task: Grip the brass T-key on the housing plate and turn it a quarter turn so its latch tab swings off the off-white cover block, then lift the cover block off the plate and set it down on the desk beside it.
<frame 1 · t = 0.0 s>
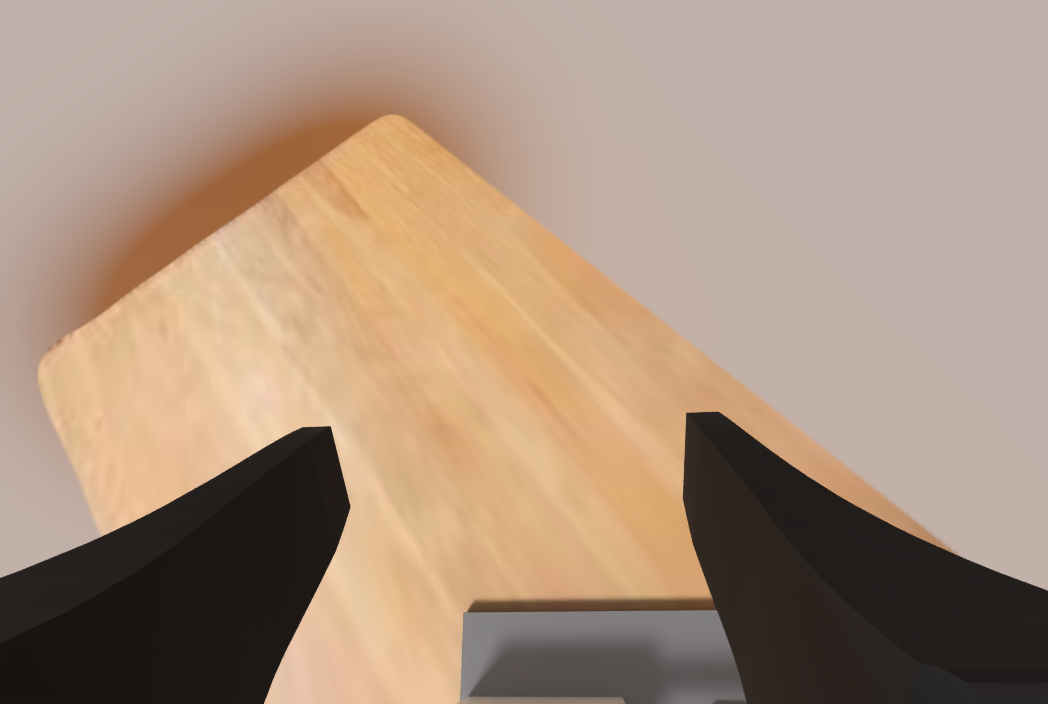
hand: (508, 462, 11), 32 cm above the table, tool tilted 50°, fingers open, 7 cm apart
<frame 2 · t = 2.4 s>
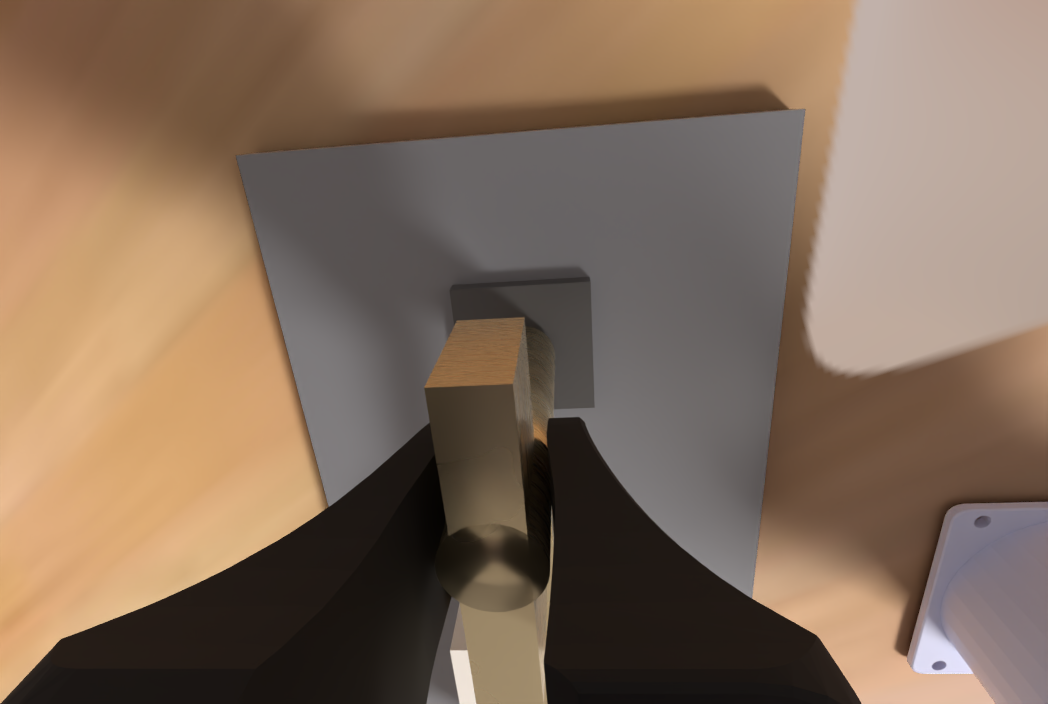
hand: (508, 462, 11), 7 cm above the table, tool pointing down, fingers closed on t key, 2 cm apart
housing plate: (539, 486, 20), on the table
cover: (550, 639, 22), point 1 cm above the table, touching housing plate
t key: (523, 532, 14), point 6 cm above the table, hinge at 0.0°, touching gripper
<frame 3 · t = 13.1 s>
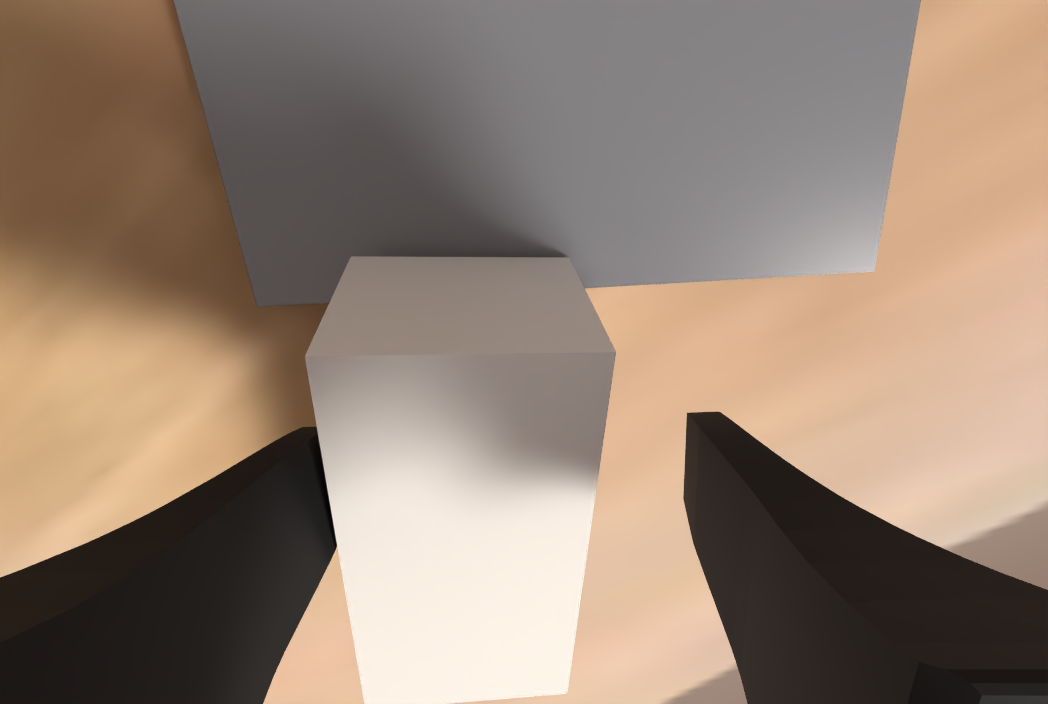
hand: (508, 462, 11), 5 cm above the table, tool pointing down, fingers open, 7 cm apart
cover: (464, 430, 15), point 1 cm above the table, tilted 11°, touching gripper
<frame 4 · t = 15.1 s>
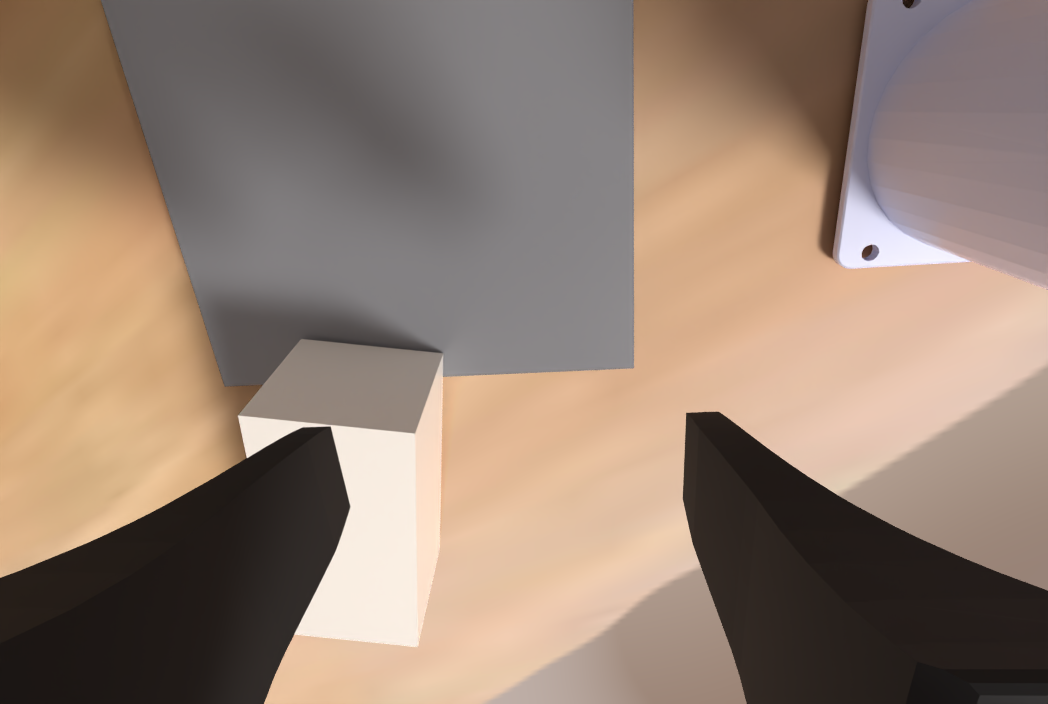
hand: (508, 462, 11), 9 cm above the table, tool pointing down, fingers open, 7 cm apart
cover: (378, 456, 22), point 1 cm above the table, tilted 6°, touching housing plate
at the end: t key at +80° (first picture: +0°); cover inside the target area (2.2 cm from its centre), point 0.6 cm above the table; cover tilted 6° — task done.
